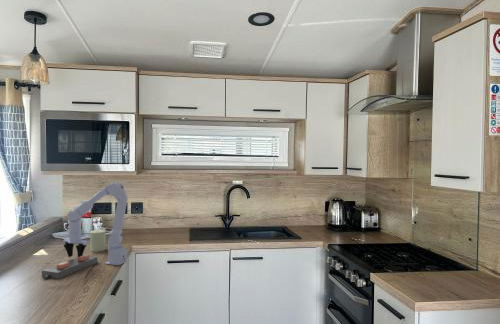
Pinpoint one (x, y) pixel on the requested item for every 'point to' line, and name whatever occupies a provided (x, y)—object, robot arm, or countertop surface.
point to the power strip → (68, 268)
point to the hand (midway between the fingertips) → (75, 257)
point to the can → (97, 240)
